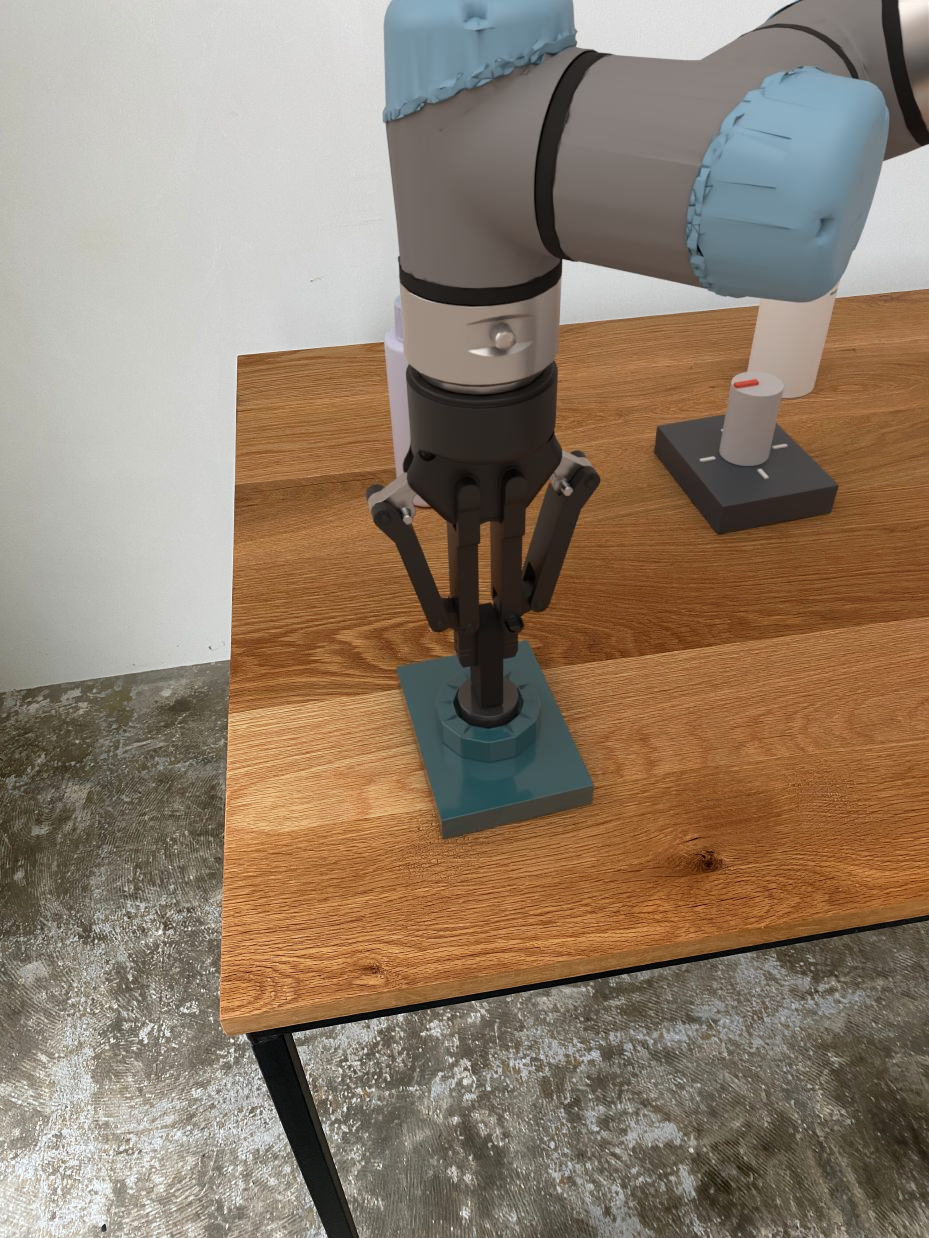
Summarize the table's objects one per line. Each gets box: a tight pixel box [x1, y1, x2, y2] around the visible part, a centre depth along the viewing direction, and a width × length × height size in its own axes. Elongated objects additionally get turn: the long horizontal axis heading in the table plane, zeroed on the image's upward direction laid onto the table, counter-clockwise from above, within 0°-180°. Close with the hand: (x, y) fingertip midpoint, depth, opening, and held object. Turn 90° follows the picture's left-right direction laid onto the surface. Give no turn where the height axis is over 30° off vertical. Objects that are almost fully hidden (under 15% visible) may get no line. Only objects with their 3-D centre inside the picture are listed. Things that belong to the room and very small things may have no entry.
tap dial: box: [719, 371, 784, 466], centre depth 83 cm, size 4×4×7 cm
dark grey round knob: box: [458, 676, 518, 729], centre depth 62 cm, size 4×4×2 cm
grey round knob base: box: [395, 639, 595, 840], centre depth 63 cm, size 14×10×4 cm
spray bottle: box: [383, 294, 431, 508], centre depth 80 cm, size 6×6×22 cm
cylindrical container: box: [746, 279, 841, 399], centre depth 93 cm, size 7×7×25 cm
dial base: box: [653, 413, 840, 535], centre depth 86 cm, size 14×11×3 cm
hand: (486, 691), depth 62 cm, fingers closed
